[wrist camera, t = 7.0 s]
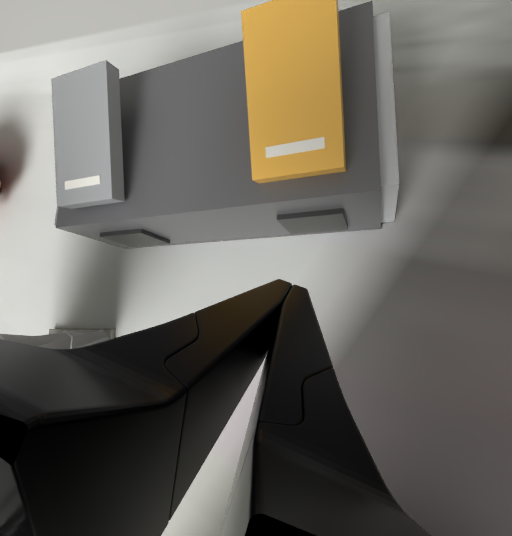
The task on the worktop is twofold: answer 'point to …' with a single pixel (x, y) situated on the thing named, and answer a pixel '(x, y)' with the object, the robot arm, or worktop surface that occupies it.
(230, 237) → the grey switch box
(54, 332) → the skyscraper
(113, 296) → the worktop surface
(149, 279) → the worktop surface
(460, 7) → the worktop surface
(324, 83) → the rocker outlet
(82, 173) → the rocker outlet
